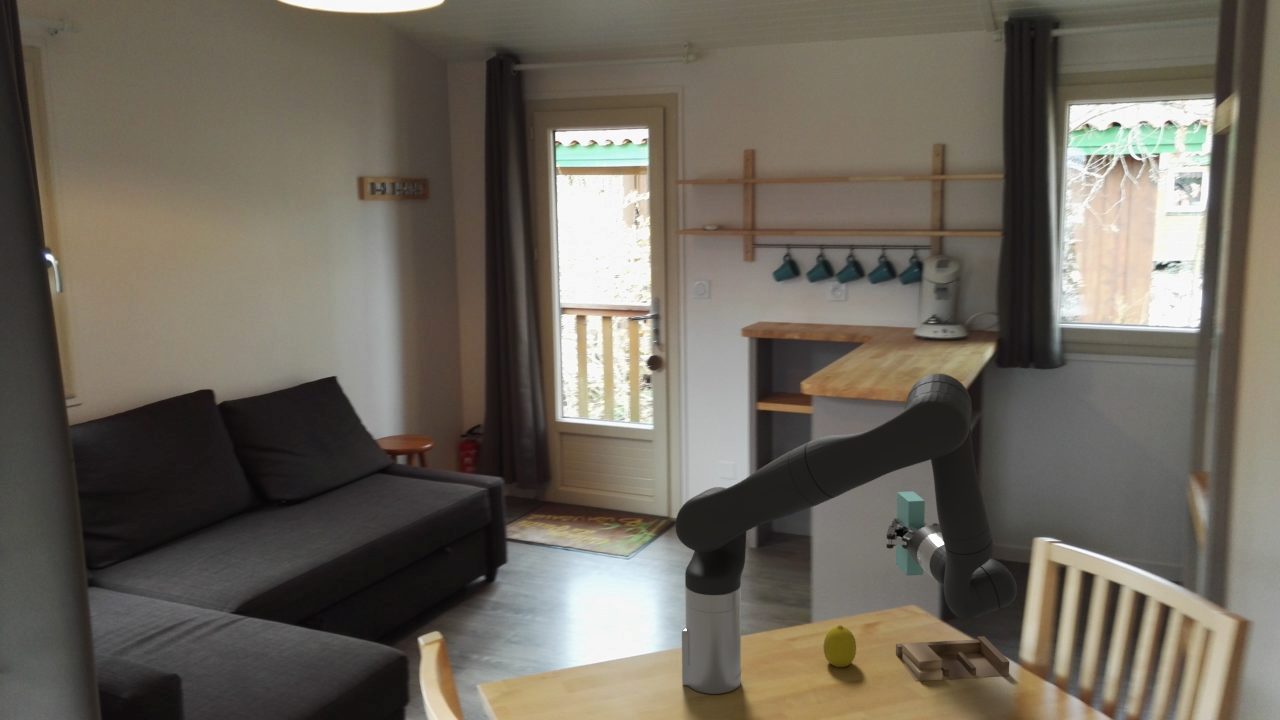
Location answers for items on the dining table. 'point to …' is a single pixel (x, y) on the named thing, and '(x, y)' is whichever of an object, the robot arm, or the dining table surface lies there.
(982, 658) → the rack
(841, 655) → the lemon
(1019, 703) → the dining table surface
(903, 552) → the teal rectangular block
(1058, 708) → the dining table surface
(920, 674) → the offcut lower
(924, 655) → the offcut upper
